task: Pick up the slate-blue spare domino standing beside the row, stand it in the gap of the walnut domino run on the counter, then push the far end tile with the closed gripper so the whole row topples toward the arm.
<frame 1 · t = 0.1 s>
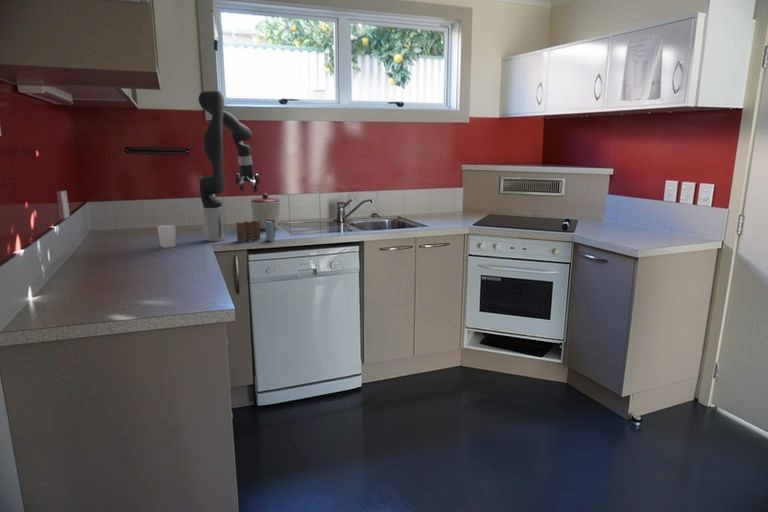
hand: (249, 191, 298), 22 cm above the worktop, tool pointing down, fingers open, 8 cm apart
domino 3: (256, 239, 272), on the worktop
canister: (266, 229, 306), on the worktop
domino 4: (271, 237, 278), on the worktop
spare domino: (270, 240, 268), on the worktop
white cup: (168, 246, 251), on the worktop
domino 2: (248, 240, 269), on the worktop
domino 1: (241, 241, 265), on the worktop
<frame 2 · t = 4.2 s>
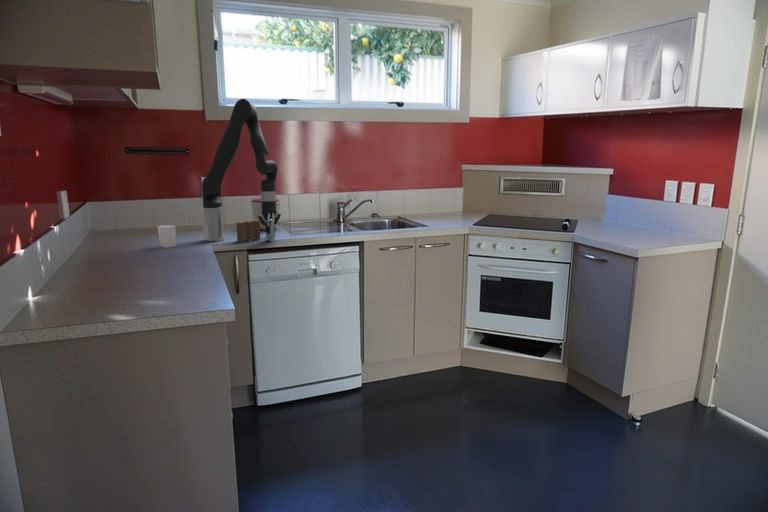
hand: (269, 233, 267), 4 cm above the worktop, tool pointing down, fingers closed on spare domino, 1 cm apart
spare domino: (270, 240, 268), on the worktop, touching gripper
everything else where it was.
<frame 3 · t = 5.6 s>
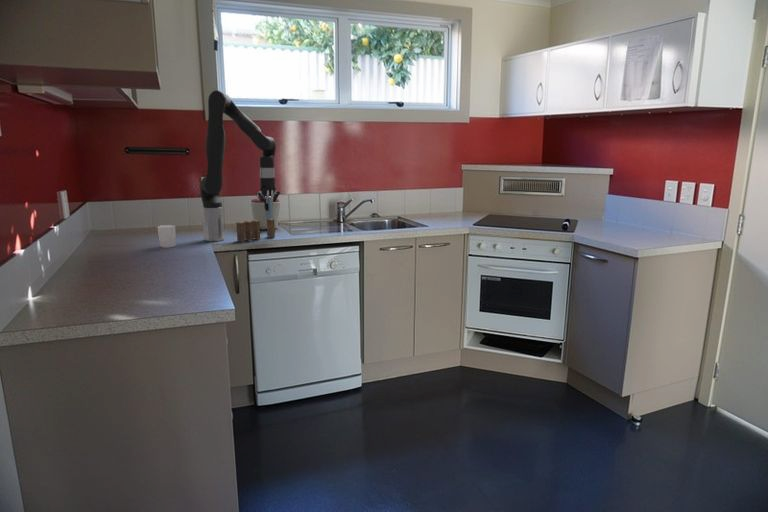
hand: (268, 210, 264), 16 cm above the worktop, tool pointing down, fingers closed on spare domino, 1 cm apart
spare domino: (269, 218, 265), point 12 cm above the worktop, tilted 5°, touching gripper
everything else where it was.
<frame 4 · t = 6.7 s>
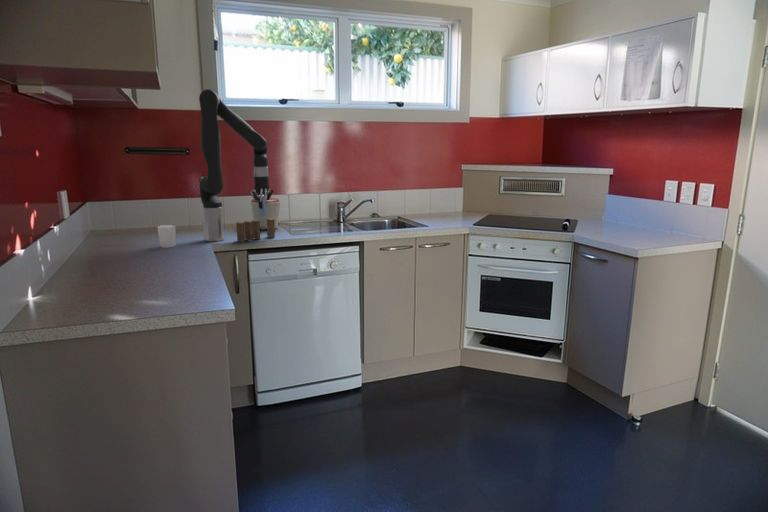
hand: (262, 208, 271), 16 cm above the worktop, tool pointing down, fingers closed on spare domino, 1 cm apart
spare domino: (264, 216, 271), point 12 cm above the worktop, tilted 13°, touching gripper
everything else where it was.
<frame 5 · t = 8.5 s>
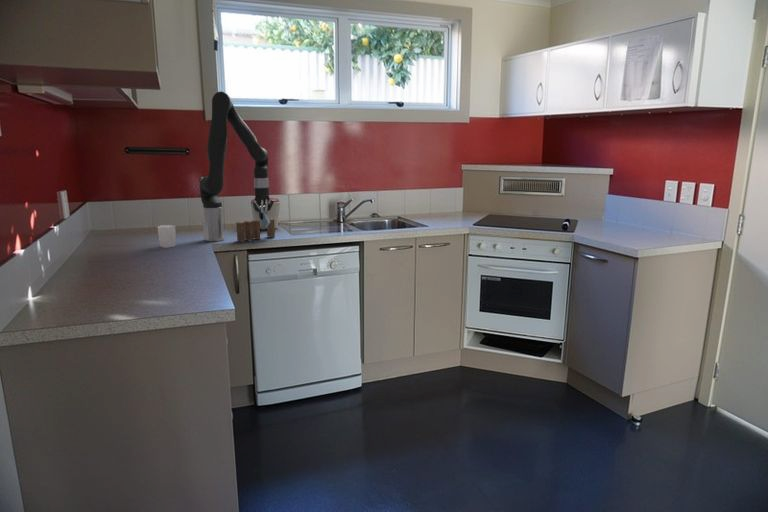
hand: (263, 219, 273), 10 cm above the worktop, tool pointing down, fingers closed on spare domino, 1 cm apart
spare domino: (267, 225, 271), point 8 cm above the worktop, tilted 41°, touching gripper
everything else where it was.
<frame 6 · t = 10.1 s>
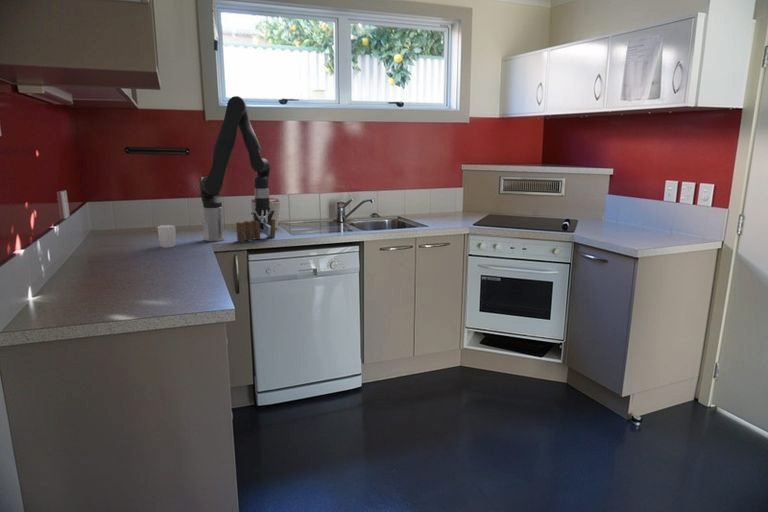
hand: (263, 229, 274), 5 cm above the worktop, tool pointing down, fingers closed
spare domino: (269, 231, 270), point 5 cm above the worktop, tilted 72°, touching gripper
everything else where it was.
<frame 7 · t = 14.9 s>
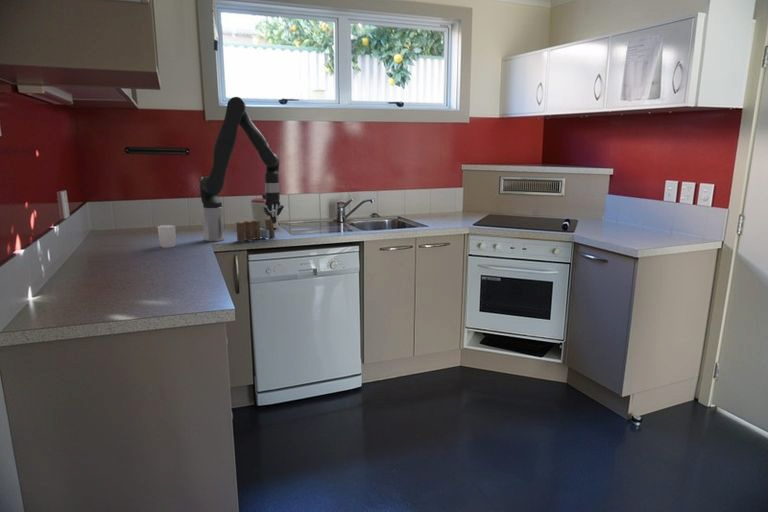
hand: (273, 223, 278), 7 cm above the worktop, tool pointing down, fingers closed
domino 4: (271, 237, 278), on the worktop, tilted 6°, touching gripper
spare domino: (268, 235, 271), point 2 cm above the worktop, tilted 90°
everything else where it was.
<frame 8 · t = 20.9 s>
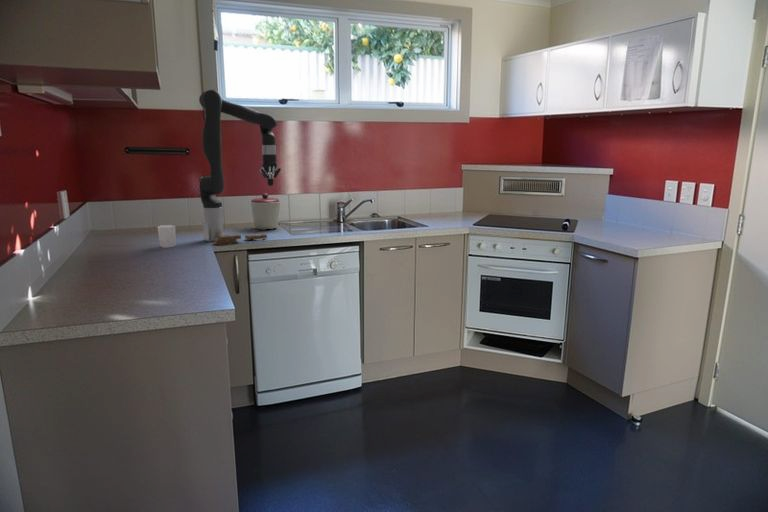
hand: (270, 185, 282), 27 cm above the worktop, tool pointing down, fingers closed
domino 3: (239, 236, 263), point 3 cm above the worktop, tilted 90°, touching domino 2
domino 4: (264, 235, 274), point 1 cm above the worktop, tilted 90°, touching spare domino
spare domino: (260, 240, 268), on the worktop, tilted 90°, touching domino 4
domino 2: (235, 239, 262), point 1 cm above the worktop, tilted 90°, touching domino 3
domino 1: (235, 242, 263), on the worktop, tilted 90°
everything else where it was.
at the end: domino 1 tilted 90°; spare domino tilted 90°; the gripper is holding nothing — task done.
